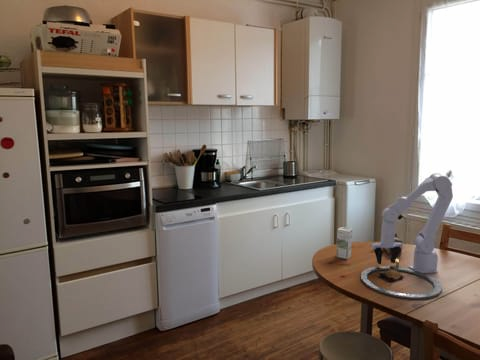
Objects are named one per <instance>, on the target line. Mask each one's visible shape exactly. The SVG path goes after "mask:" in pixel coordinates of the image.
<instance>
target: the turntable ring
mask: <svg viewBox="0 0 480 360" xmlns="http://www.w3.org/2000/svg"><path fill="white" fill-rule="evenodd" d="M388 270H395V271H397V272H404V273H409V274H413V275H416V276H419V277H421V278H422V279H425V280H427V281H428V282H429V283H431V284H432V286H433V289H432V290H431V291H428V292H425V293H403V292H396V291H392V290H389V289H386V288H383V287H380V286H378V285H376V284H374V283H372V281H370V280H369V278H368V276H369V275H370V274H372V273H374V272H377V271H388ZM360 280H361V281H362V283H364V285H365V286H366V287H368V288H370V289H372V290H374V291H375V292H378V293H381V294H383V295H387V296H389V297H393V298H401V299H408V300H427V299H432V298H435V297H437V296H439V295H440V293H441V292H442V291H443V288H442V284H441V283H440V282H439V281H438V280H437V279H435V278H434V277H432V276H431V275H428V274H427V273H421V272H418V271H415V270H413V269H411V268H407V267H400V260H399V258H396V260H395V263H394V266H389V265H386V266H385V265H384V266H382V265H378V266H373V267H368V268H366V269H364V270H363V271H361V272H360Z"/></svg>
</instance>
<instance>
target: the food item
mask: <svg viewBox="0 0 480 360" xmlns="http://www.w3.org/2000/svg"><path fill="white" fill-rule="evenodd" d="M398 235H399V233H396V232H395V239H394V242H398V243H399V242H400V243H402V244H403V241H402V240H401V237H400V236H398ZM384 249H385V251H386V252H387V254H388V255H389V256H391V249H390V248H384ZM400 249H401V252H400V253H399V254H398V256H397V257H400V256H401V255H402V254H403V253H402V250H403V248H400Z"/></svg>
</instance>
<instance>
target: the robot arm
mask: <svg viewBox="0 0 480 360" xmlns="http://www.w3.org/2000/svg"><path fill="white" fill-rule="evenodd" d="M427 192H435V193H436V195H437V198H436V199H437V200H436V202H435V204H434V206H433V207H432V210H431V211H430V214H429V216H428V218H427V220H426V223H425V224H424V227H423V228H422V229H421V230H420V231H419V233H418V234H416V235H415V236H414V239H413V243H414V244H415V245H416V246H415V248H414V252H413V265H408V268H409V269H411V270H415V271H418V272H421V273H424V274H431V273H438V272H439V271H438V261H439V260H438V259H439V257H438V254H437V252H436V251H435V242H436V238H437V237H436V234H437V231H438V230H439V228H440V226H441V223H442V222H443V219H444V217H445V215H446V212H447V211H448V209H449V207H450V205H451V202H452V200H453V197H454V196H453V182H452V181H451V180H450V179H449V177H448V176H445V175H442V174H441V173H437V172H434V173H432V174H431V175H430V176H428V177H426V178H425V179H424V180H423V181H422V182H421V183H420V184H419V185H418V186H417V187H415V188H414V189H413V190H412V191H411V192H409V194H407V195H406V196H401V197H397V198H396V201H395V202H393V203H392V204H391V205H390V204H389V205H388V207H386V208H384V209H383V210H382V212H381V214H380V215H381V217H382V224H381V232H380V233H381V234H380V236H381V237H380V242H375V243H371V249H373V251H374V254H375V257H376V263H377V264H379V265H381V264H382V259H383V254H384V250H383V249H385V248H390V249H391V255H390V263H392V264H395V260H396V259H398V258H397V257H399V256H398V254H399V253H400V252H401V249H400V248H402V249H403V248H404V247H403V246H404V243H403V242H402V243H400V242H399V243H398V242H394V239H395V233H396V222H397V221H398V219H399V216H401V215H402V214H404V213H405V212H406V211H407V210H409V209H410V208H411V207H412V203H413V202H414V201H415V200H417V199H418V198H420V197H421V196H422V195H424V194H426V193H427Z"/></svg>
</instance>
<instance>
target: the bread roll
mask: <svg viewBox="0 0 480 360" xmlns="http://www.w3.org/2000/svg"><path fill="white" fill-rule="evenodd" d="M377 278H378V279H380V280H382V281H385V282H387V283H396V282H398V281H401V280H403V279H404V278H405V275H403V274H401V273H400V271H396V270H385V271H384V272H379V276H377Z"/></svg>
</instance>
